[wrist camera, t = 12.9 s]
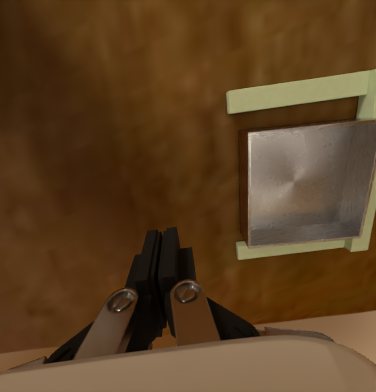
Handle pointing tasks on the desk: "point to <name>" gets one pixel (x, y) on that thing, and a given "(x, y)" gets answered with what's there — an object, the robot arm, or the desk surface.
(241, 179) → the baking pan
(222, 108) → the desk surface
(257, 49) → the desk surface
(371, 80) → the bracket
